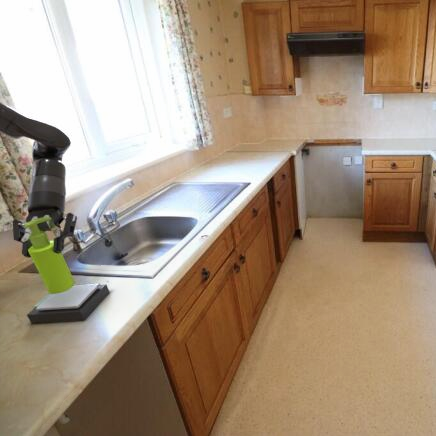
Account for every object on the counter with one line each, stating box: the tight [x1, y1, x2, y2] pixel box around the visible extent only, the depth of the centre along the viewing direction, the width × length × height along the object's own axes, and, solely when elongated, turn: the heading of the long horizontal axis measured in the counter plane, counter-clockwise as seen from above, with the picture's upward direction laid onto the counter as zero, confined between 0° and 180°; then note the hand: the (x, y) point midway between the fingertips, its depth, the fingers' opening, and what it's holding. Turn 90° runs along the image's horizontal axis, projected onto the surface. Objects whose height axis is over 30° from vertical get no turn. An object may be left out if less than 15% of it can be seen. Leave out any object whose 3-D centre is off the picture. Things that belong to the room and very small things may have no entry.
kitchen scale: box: [26, 283, 110, 324], centre depth 91 cm, size 14×12×4 cm
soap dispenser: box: [23, 217, 76, 294], centre depth 85 cm, size 6×7×20 cm
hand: (42, 254), depth 82 cm, fingers closed on soap dispenser, 6 cm apart
